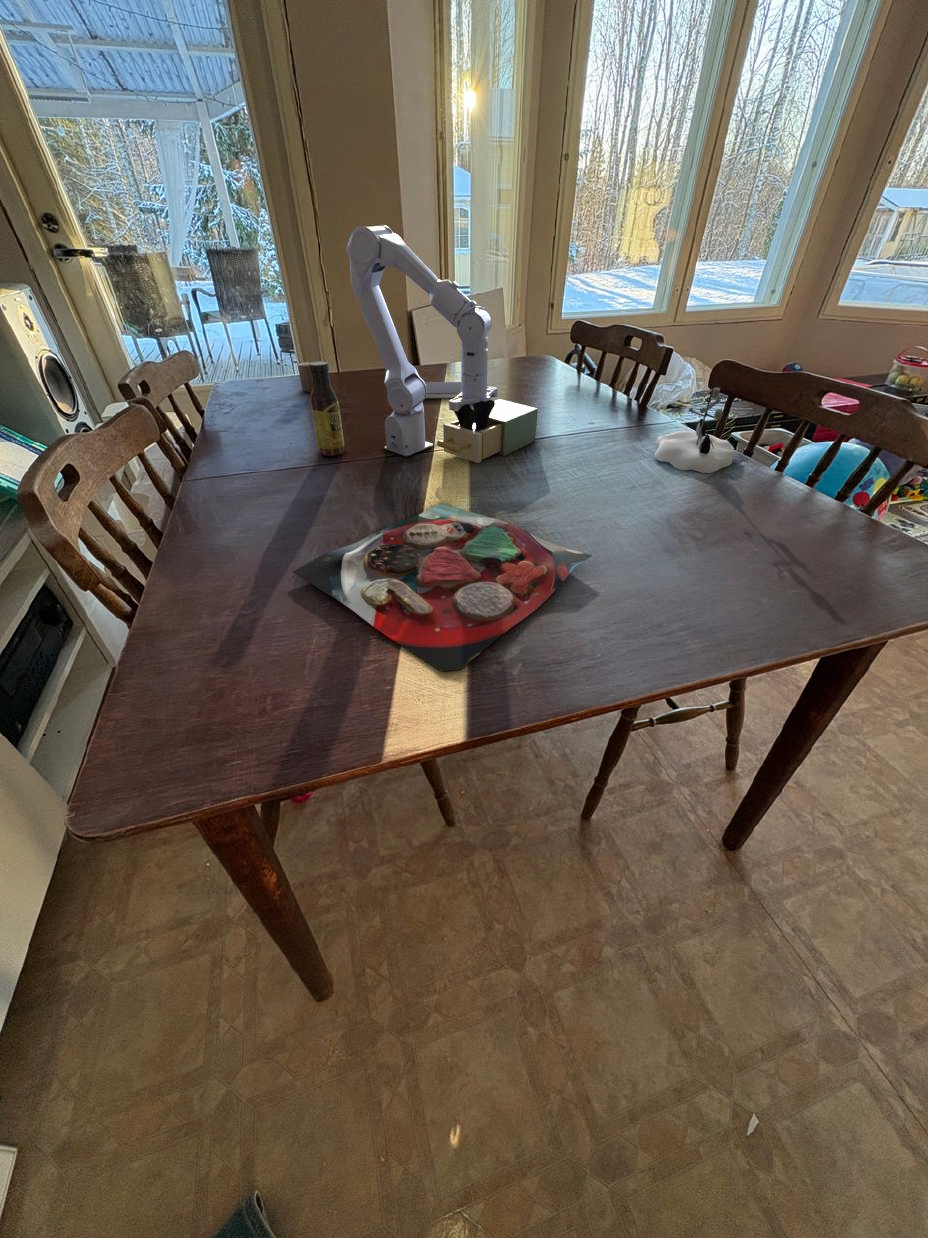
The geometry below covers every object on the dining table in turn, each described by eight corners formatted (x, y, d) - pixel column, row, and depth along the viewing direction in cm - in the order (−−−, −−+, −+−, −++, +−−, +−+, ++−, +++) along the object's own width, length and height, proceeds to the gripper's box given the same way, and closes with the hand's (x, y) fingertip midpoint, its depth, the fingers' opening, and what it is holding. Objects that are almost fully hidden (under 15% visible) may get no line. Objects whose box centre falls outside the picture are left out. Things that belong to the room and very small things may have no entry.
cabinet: (503, 455, 122) (505, 421, 117) (466, 443, 129) (466, 411, 123) (535, 440, 130) (538, 408, 125) (498, 430, 136) (499, 398, 131)
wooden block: (320, 390, 166) (315, 363, 161) (311, 393, 163) (306, 365, 158) (311, 388, 168) (306, 361, 163) (302, 391, 165) (297, 364, 160)
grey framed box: (479, 447, 118) (479, 431, 116) (456, 439, 122) (456, 424, 119) (490, 442, 121) (491, 426, 118) (468, 435, 124) (468, 420, 122)
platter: (439, 503, 103) (439, 494, 102) (591, 566, 85) (593, 556, 84) (293, 576, 83) (290, 566, 82) (451, 679, 65) (451, 668, 64)
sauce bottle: (339, 458, 122) (324, 367, 109) (315, 456, 123) (297, 366, 110) (349, 448, 127) (336, 360, 114) (326, 446, 128) (310, 359, 115)
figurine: (665, 431, 132) (681, 364, 120) (740, 445, 124) (765, 375, 113) (641, 465, 120) (657, 394, 108) (723, 483, 113) (749, 409, 101)
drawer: (465, 469, 114) (465, 440, 110) (430, 457, 120) (429, 429, 116) (510, 448, 124) (512, 420, 120) (476, 437, 130) (476, 411, 126)
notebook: (479, 386, 168) (415, 387, 168) (479, 381, 167) (414, 381, 167) (480, 398, 158) (412, 398, 158) (480, 393, 157) (411, 393, 157)
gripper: (466, 383, 105) (466, 447, 114) (509, 369, 114) (506, 430, 122) (441, 377, 109) (443, 440, 117) (484, 364, 117) (483, 424, 126)
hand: (473, 435), depth 120 cm, fingers closed on grey framed box, 4 cm apart
